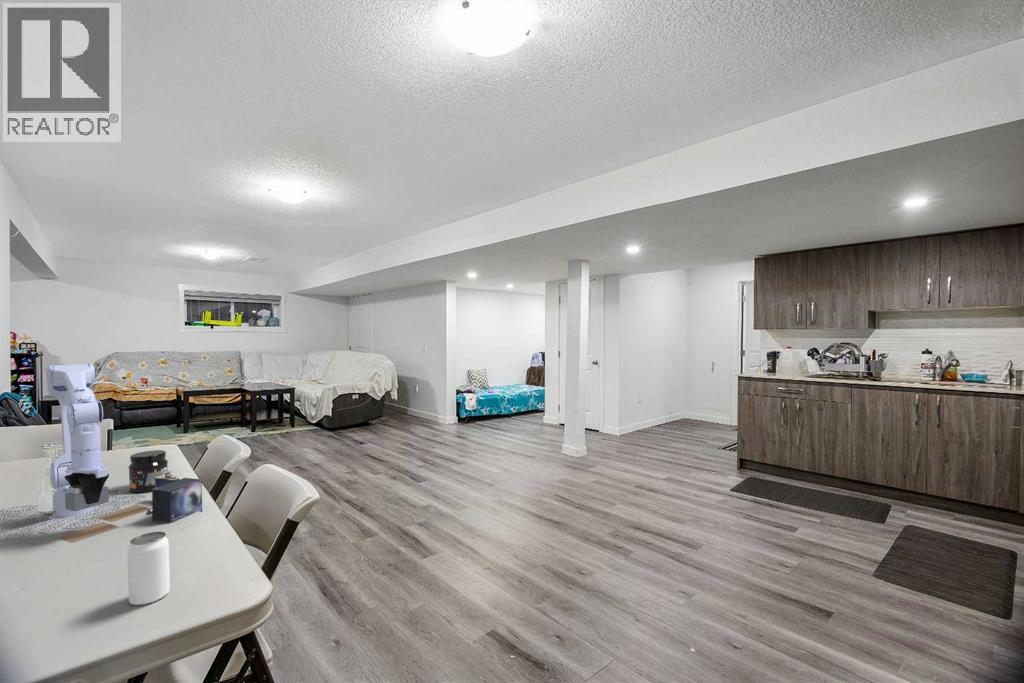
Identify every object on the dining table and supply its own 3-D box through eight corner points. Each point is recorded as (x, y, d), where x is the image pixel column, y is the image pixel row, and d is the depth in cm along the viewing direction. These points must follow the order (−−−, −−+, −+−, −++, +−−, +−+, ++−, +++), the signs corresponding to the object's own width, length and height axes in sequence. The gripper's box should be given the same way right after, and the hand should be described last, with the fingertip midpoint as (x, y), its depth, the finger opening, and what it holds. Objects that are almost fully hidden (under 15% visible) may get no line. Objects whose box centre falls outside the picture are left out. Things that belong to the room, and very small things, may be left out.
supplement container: (128, 488, 158) (127, 453, 157) (166, 481, 165) (165, 448, 164) (130, 496, 150) (129, 459, 149) (170, 488, 157) (169, 453, 157)
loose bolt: (145, 520, 130) (145, 510, 130) (153, 516, 133) (153, 507, 133) (166, 520, 130) (165, 511, 130) (173, 516, 133) (173, 507, 133)
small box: (170, 529, 124) (169, 490, 124) (150, 527, 125) (149, 489, 125) (204, 514, 135) (203, 478, 134) (185, 512, 136) (184, 477, 136)
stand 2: (95, 522, 129) (95, 517, 129) (136, 509, 138) (136, 504, 138) (111, 527, 126) (111, 521, 126) (152, 513, 135) (152, 508, 135)
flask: (153, 506, 141) (152, 471, 141) (163, 503, 144) (162, 468, 143) (174, 510, 138) (173, 474, 138) (184, 506, 141) (183, 471, 140)
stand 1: (55, 543, 116) (55, 537, 116) (103, 527, 126) (103, 522, 126) (72, 548, 113) (71, 542, 113) (120, 532, 122) (120, 526, 122)
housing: (65, 508, 117) (64, 487, 117) (99, 499, 123) (98, 478, 123) (75, 511, 115) (74, 489, 115) (108, 501, 122) (108, 480, 121)
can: (144, 588, 95) (142, 531, 95) (177, 587, 96) (175, 529, 95) (120, 607, 89) (118, 545, 88) (155, 605, 89) (154, 544, 89)
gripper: (51, 450, 118) (52, 502, 118) (81, 456, 112) (83, 511, 113) (85, 444, 125) (86, 493, 125) (116, 449, 119) (117, 501, 119)
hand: (87, 501), depth 119 cm, fingers closed on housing, 4 cm apart
